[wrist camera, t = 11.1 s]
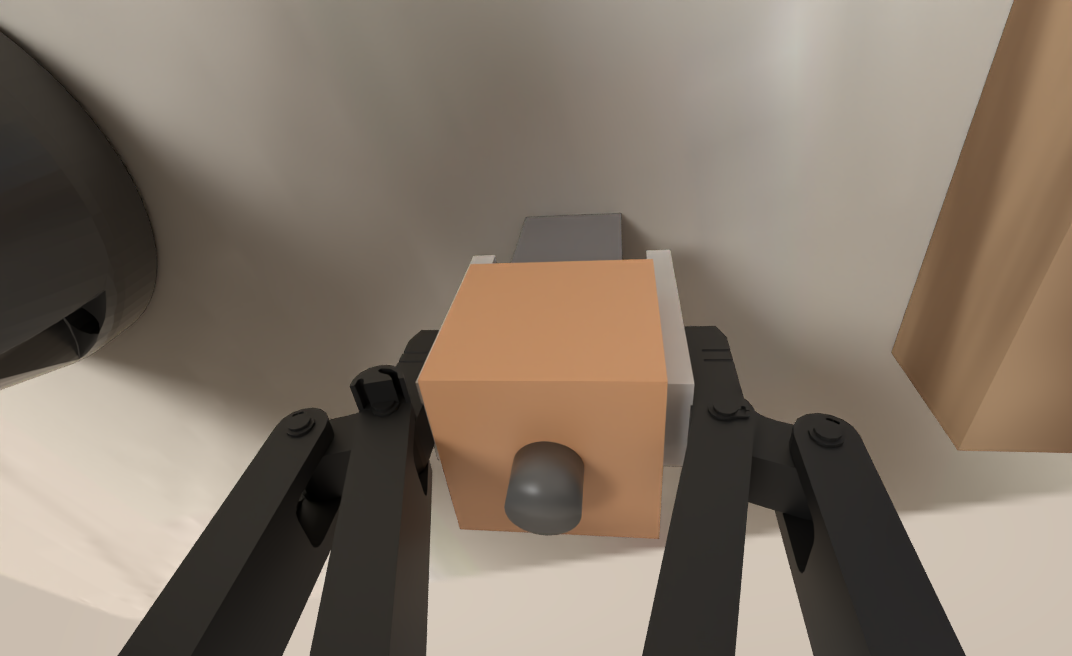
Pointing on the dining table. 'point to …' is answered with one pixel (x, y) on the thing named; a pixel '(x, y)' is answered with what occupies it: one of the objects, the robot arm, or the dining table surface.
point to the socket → (1004, 255)
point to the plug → (553, 386)
